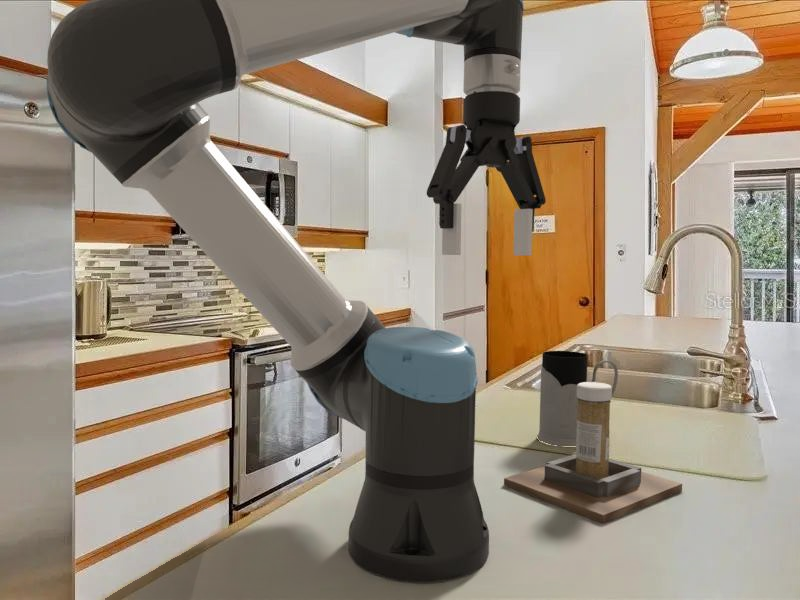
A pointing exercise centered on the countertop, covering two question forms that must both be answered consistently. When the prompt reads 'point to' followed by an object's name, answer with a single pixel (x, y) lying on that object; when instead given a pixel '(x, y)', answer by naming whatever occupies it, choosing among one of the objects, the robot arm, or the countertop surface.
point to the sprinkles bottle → (593, 429)
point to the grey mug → (563, 395)
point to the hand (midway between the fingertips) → (488, 255)
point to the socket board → (593, 488)
